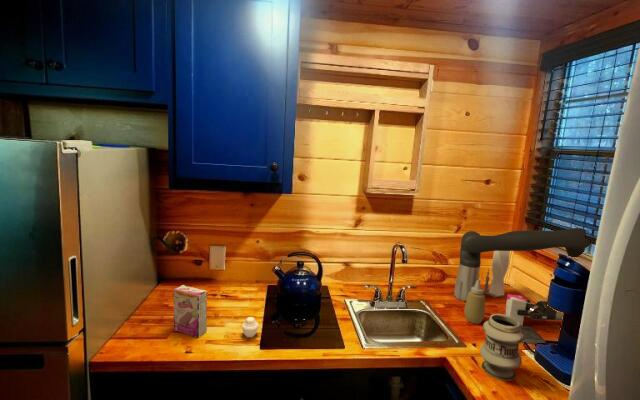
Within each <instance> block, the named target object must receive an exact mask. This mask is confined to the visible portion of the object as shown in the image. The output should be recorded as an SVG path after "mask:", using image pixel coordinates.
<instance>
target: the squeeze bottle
mask: <svg viewBox="0 0 640 400" xmlns="http://www.w3.org/2000/svg"><path fill="white" fill-rule="evenodd" d="M481 285H482V284H481V280H480V279H478V280H477V281H476V284H475V287H472V288H471V291H470V292H469V293H468V296H467V300H466V301H465V305H464V310H463V312H464V315H465V320H466V321H468V322H469V323H471V324H477V325H479V324H481V323H482V321H483V319H484V318H485V315H486V295H485V293H484V292H483V291H484V289H483V288H482V287H481Z"/></svg>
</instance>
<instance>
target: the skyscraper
mask: <svg viewBox="0 0 640 400" xmlns="http://www.w3.org/2000/svg"><path fill="white" fill-rule="evenodd" d="M510 253H511V251H493V256H492V263H491V274H492V279H491V281H490V269H489V268H488V271H486V272H487V273H486V274H487V275H486V277H485V284H484V289H483V294H486V295H488V296H491V297H493V298H500V297H505V283H504V279H505V276H506V274H507V273H508V269H509V264H510V257H511V256H510ZM489 281H490V286H489Z"/></svg>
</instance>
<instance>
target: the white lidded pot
mask: <svg viewBox="0 0 640 400" xmlns="http://www.w3.org/2000/svg"><path fill="white" fill-rule="evenodd" d="M259 326H260V324H259V323H258V321H256V318H255V317H254V316H253V317H252V316H250V317H249V316H248V317H246V318H245V321H244V322H243V323H242V324H241V330H242V333H243V334H244V335H245V337H246V338H249V337H250V338H253V337H255V335H256V333H257V332H258V330H259V328H260V327H259Z"/></svg>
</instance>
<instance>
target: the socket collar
mask: <svg viewBox="0 0 640 400" xmlns="http://www.w3.org/2000/svg"><path fill="white" fill-rule="evenodd" d="M520 328H521V330H522V331H523V333H524V340H523V341H522V342H521V343H523V344H536V345H538V344H537V343H545V344H546V339H545V338H543V337H542V336H541V335H540V334H539V333H538V332H537V331H536V330H535V329H533V328H532V326H520ZM524 342H526V343H524ZM521 343H520V344H521Z"/></svg>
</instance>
